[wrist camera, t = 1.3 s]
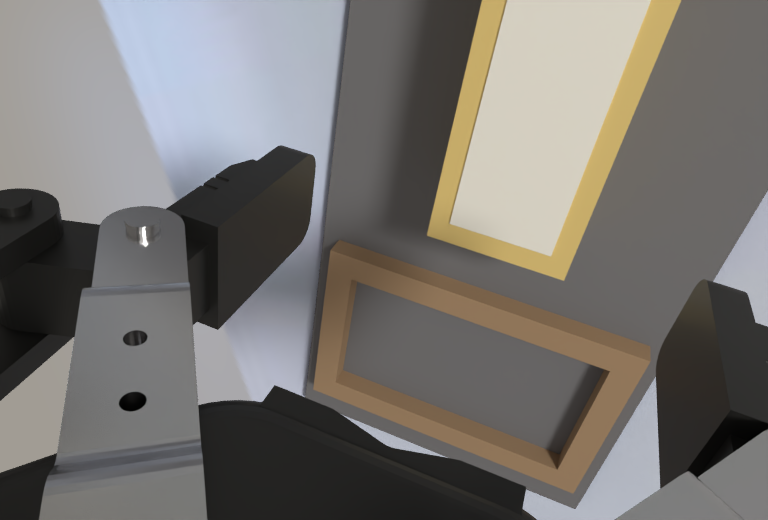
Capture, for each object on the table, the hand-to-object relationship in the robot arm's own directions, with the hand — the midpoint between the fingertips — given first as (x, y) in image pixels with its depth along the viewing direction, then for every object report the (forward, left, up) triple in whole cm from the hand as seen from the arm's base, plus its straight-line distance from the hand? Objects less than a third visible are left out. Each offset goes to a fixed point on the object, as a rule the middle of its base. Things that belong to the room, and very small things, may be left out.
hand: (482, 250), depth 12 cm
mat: (+7, 0, -12) cm, 14 cm away
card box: (0, 0, -11) cm, 11 cm away
